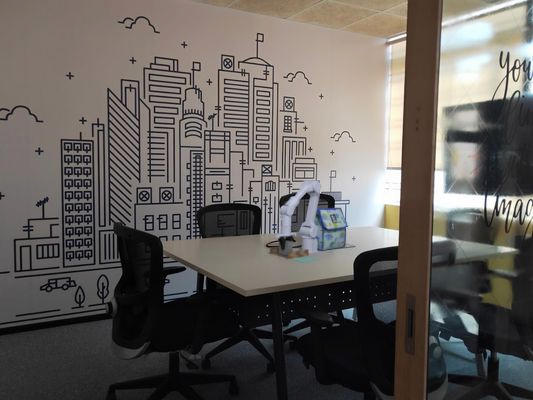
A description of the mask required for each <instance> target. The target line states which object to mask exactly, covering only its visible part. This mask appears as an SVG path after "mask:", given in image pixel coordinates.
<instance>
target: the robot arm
mask: <svg viewBox="0 0 533 400" xmlns="http://www.w3.org/2000/svg"><path fill="white" fill-rule="evenodd" d="M321 188H322V184H321V183H320V181H319V180H310V179H305V180H303V182H302V183H301V187H300V188H299V190H298V191H297V192H296V194H295V196H291V197H290V198H289V199H288V201H287V202H286V203H285V204H284V205H282V206H281V207H280V209H279V210H278V211H279V214H280V219H281V220H280V222H281V223H280V233H277V234H274V235H275V238H274V239H277V240H278V243H279V242H280V245H281V250H285V242H286V240H288V241H292V242H294V238H295V237H297V232H292V216H293V214H294V212H295V209H296V208H297V207H298V205H300V200H301V199H302V197H304V195H306V193H307V195H309V196H310V197H309V200H308V201H309V202H308V207H307V212H306V216H305V221H304V222H302V223H301V226H300V228H299V231H298V232H299V235H300V237H301V250H306V249H308V250H309V254H313V253H318V252H319V251H318V249H317V243H318V242H317V239H316V238H315V237H316V235H317V226H316V225H315V224H314V221H315V216H316V211H317V209H318V206H319V205H318V204H319V199H320V195H321V194H320V193H321Z"/></svg>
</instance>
